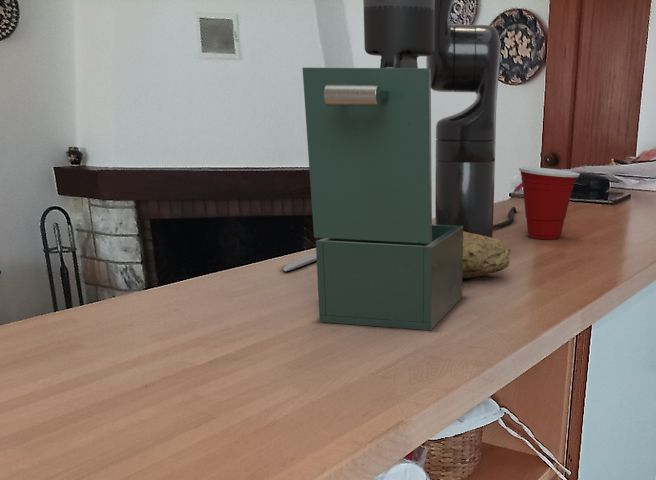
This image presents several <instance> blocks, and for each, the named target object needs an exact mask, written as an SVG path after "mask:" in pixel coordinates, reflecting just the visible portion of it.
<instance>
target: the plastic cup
mask: <svg viewBox="0 0 656 480" xmlns="http://www.w3.org/2000/svg"><path fill="white" fill-rule="evenodd" d="M518 171H519V172H520V175H521V182H522V183H521V184H522V186H521V187H522V188H523V189H522V191H523V203H524V212H525V213H524V214H525V219H526V226H527V233H528V237H529V238H532V239H539V240H557V239H560V238H561V235H562V232H563V227H564V223H565V219H566V216H567V212H568V208H569V204H570V201H571V197H572V191H573V190H574V186H575V184H576V181H577V179H578V178H579V177H580V174H581V173H579V172H575V171H569V170H562V169H555V168H547V167H546V168H545V167H537V166H536V167H535V166H533V167H532V166H520V167H518Z"/></svg>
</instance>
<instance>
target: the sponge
mask: <svg viewBox="0 0 656 480" xmlns="http://www.w3.org/2000/svg"><path fill="white" fill-rule="evenodd" d="M510 252H511V248H510V247H508V246H507V245H505V244H504V242H503V241H502V240H500V239H497V238H495V237H493V238H491V237H487V236H482V235H478V234H472V233H468V232H464V231H463V267H462V279H471V278H477V277H482V276H486V275H489V274H494V273H498V272H500V271H503V270H505V269H507V268H508V267H509V266H510V265H511V262H510V254H511V253H510Z"/></svg>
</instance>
